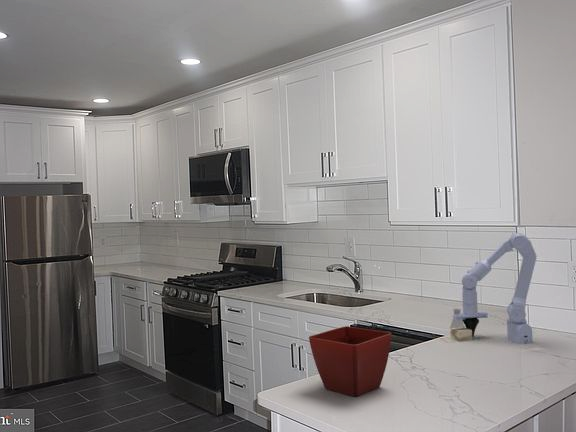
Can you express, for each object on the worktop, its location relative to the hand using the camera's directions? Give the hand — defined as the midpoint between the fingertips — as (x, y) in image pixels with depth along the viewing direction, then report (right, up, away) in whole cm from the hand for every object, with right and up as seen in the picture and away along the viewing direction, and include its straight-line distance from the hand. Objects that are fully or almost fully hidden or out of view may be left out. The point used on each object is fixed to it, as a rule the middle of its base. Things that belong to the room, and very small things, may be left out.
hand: (471, 336), depth 221 cm
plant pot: (-55, -5, -53) cm, 76 cm away
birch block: (-4, -1, -1) cm, 5 cm away
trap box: (-3, -2, -1) cm, 4 cm away
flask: (0, -2, +18) cm, 19 cm away
